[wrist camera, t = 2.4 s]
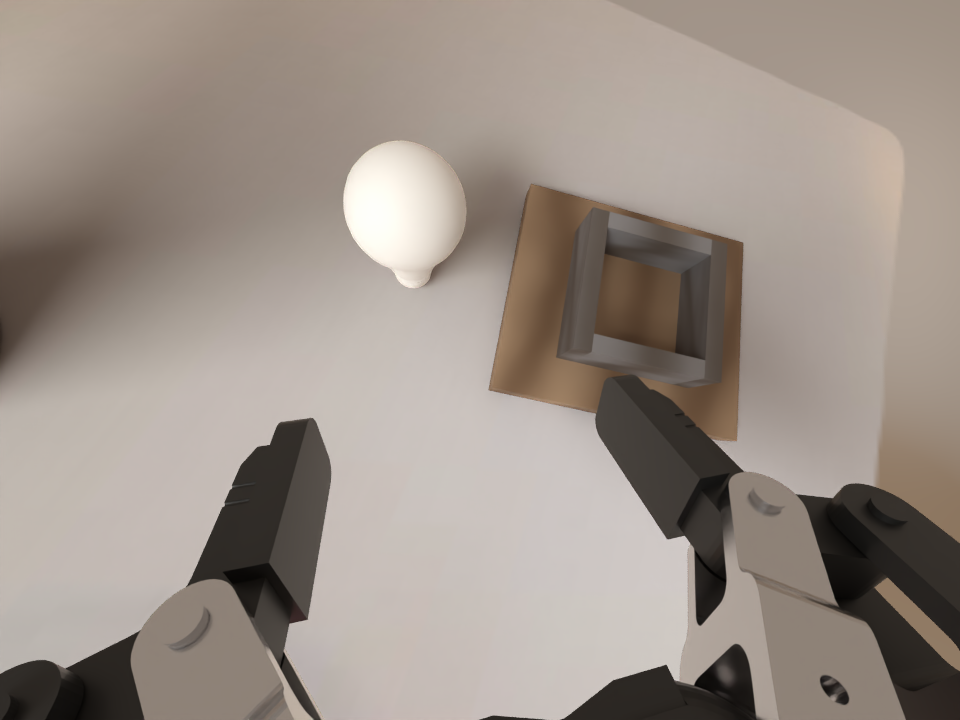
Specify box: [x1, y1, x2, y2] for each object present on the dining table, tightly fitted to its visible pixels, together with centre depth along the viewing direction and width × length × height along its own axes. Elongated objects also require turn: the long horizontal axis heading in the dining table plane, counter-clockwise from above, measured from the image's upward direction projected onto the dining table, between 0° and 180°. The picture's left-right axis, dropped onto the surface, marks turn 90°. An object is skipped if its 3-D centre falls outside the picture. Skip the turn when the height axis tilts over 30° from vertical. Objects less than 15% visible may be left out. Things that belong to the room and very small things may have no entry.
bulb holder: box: [489, 184, 743, 441], centre depth 25 cm, size 18×16×4 cm
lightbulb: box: [343, 140, 467, 288], centre depth 20 cm, size 6×6×11 cm
